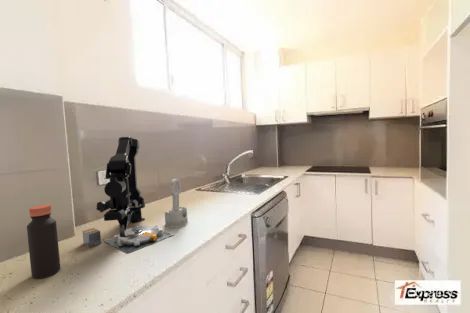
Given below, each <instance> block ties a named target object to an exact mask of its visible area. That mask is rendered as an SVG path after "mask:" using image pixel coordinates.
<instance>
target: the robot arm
mask: <svg viewBox="0 0 470 313" xmlns="http://www.w3.org/2000/svg"><path fill="white" fill-rule="evenodd" d="M117 144H118V145H117V148H116V152H115V154H114V155H113V156H111V157H110V158H109V160H108V162H107V163H106V170H105V175H104V176H105V178H104V179H105V180H108V179H109V182H107V183H106V184H105V185H104V193H105V195H106V196H108V197H109V198H110V199H108V200H105V201H104V200H100V201H98V202H97V203H96V211H99V212H100V213H101V214H102V213H104V212H105V211H106V212H105V213H104V214H103V221H104V222H107V221H117V222H118V225H119V224H124V229H125V231H126V229H128V226H129V223H131V224H135V223H138V222H141V221H145V220H146V219H145V218H144V217H142V209H144V208H146V203H145V199H144V197H143V195H142V191H141V190H140V189H139V187H138V177H137V163H136V162H137V161H136V157H137V155H138V153H139V149H140V141H139V140H138V139H136V138H133V137H132V136H120V137H119V138H118V141H117ZM109 209H110V210H109ZM107 210H108V211H107Z"/></svg>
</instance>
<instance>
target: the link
mask: <svg viewBox="0 0 470 313" xmlns="http://www.w3.org/2000/svg"><path fill="white" fill-rule="evenodd" d="M82 239H83V240H82V241H83V245H85V246H86V247H88V248H92V247H95V246H98V245H101V244H102V236H101V230H98V229H97V228H95V227H93V228H88V229H85V230H82Z"/></svg>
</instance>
